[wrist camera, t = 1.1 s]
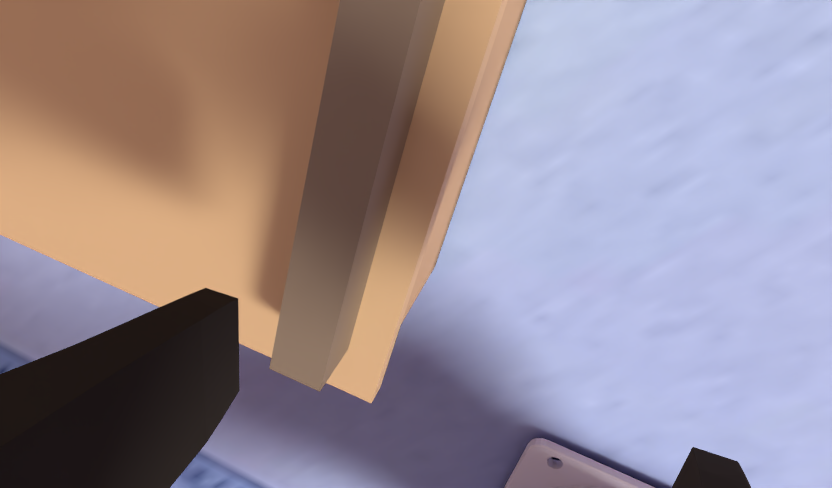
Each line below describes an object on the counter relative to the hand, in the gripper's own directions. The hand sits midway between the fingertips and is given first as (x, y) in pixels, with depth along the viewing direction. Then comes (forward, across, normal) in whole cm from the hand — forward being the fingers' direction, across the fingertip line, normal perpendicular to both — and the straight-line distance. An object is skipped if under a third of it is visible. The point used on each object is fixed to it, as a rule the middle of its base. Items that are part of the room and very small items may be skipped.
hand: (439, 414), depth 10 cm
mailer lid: (+4, +8, -3) cm, 9 cm away
